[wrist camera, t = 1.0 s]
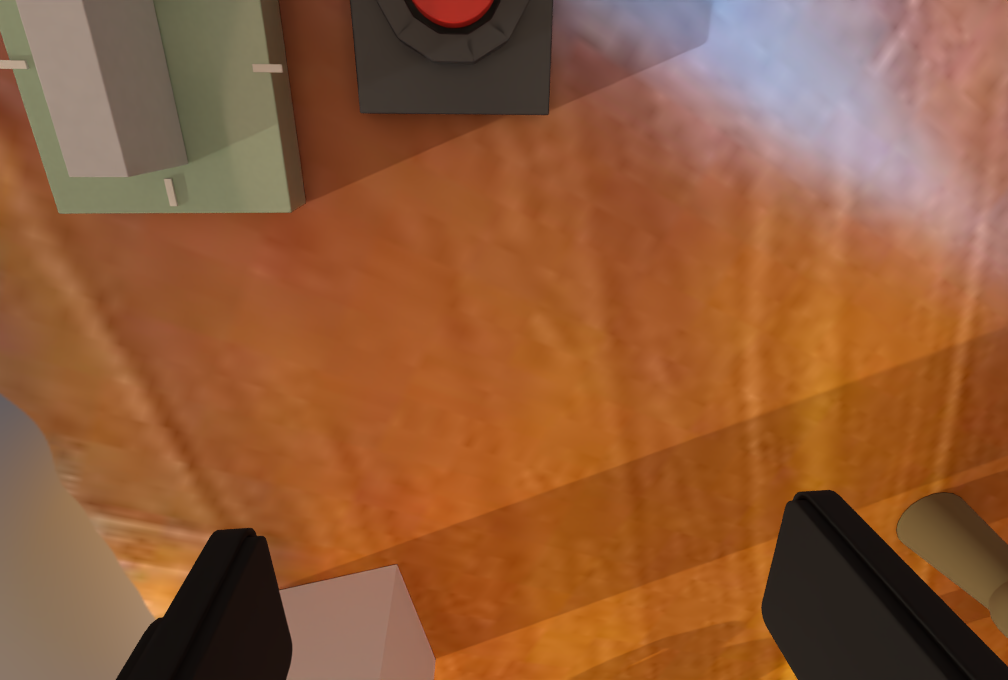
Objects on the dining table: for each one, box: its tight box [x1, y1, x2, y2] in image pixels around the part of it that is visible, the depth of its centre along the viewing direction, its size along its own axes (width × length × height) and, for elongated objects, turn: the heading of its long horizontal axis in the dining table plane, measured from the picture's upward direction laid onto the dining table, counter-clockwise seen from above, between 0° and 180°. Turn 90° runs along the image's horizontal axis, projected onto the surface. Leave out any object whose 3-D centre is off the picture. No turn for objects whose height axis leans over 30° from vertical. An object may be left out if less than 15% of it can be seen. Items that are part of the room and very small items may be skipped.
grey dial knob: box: [16, 0, 188, 177], centre depth 23 cm, size 9×2×6 cm, turn 0°
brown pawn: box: [897, 493, 1008, 638], centre depth 41 cm, size 6×6×11 cm
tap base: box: [0, 0, 306, 214], centre depth 27 cm, size 14×13×3 cm
